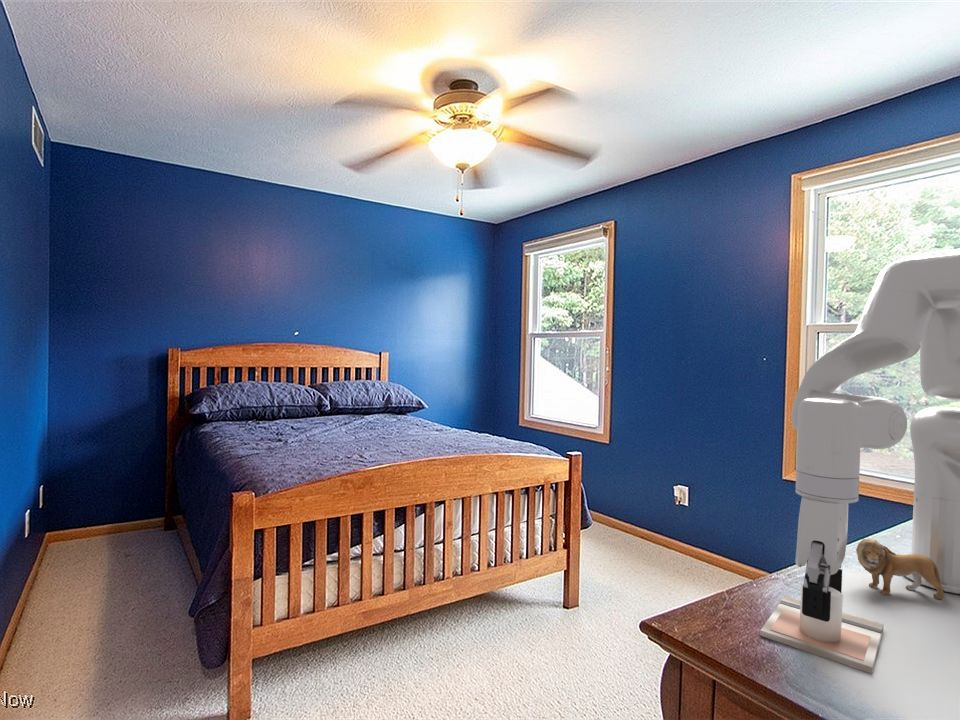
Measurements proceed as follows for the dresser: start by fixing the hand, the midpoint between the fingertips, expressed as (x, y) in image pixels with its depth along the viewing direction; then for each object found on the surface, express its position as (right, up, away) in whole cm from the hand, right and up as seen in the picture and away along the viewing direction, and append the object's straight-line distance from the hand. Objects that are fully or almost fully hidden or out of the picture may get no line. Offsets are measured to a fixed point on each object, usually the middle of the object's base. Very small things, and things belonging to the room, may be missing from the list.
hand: (822, 604), depth 77 cm
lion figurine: (+23, -5, +16) cm, 29 cm away
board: (+1, -5, +2) cm, 5 cm away
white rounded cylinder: (0, -4, 0) cm, 4 cm away
